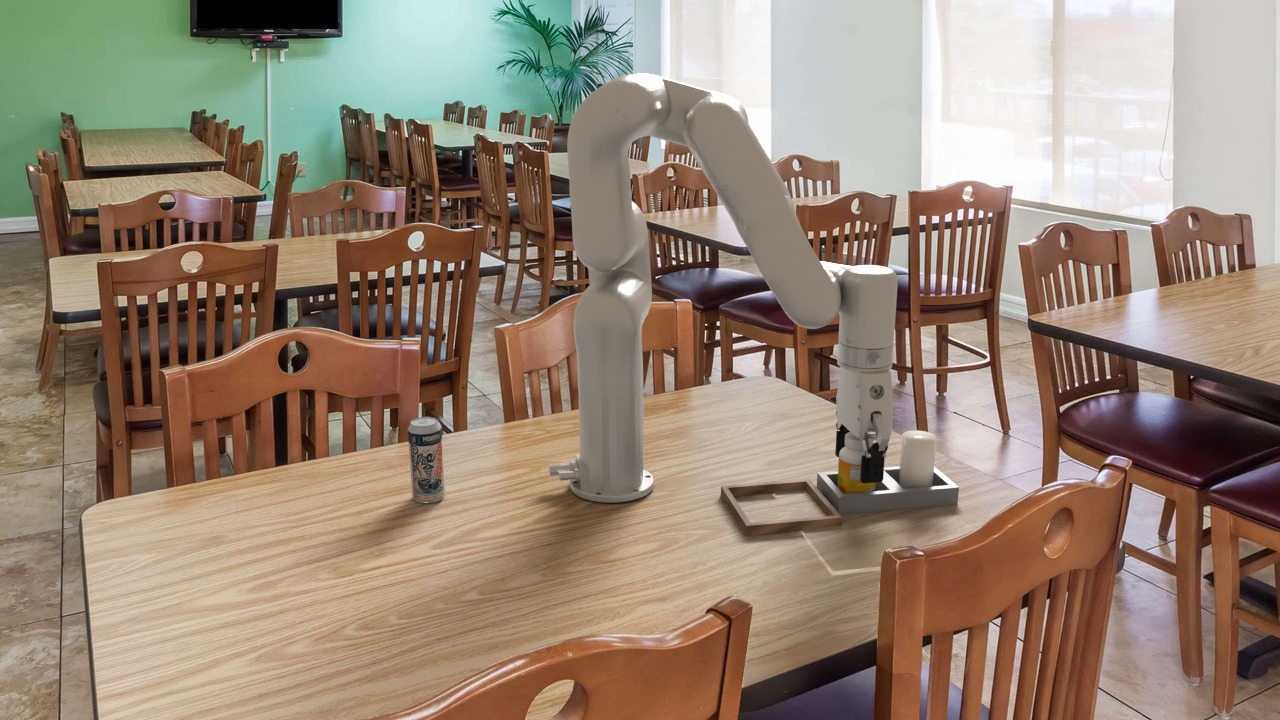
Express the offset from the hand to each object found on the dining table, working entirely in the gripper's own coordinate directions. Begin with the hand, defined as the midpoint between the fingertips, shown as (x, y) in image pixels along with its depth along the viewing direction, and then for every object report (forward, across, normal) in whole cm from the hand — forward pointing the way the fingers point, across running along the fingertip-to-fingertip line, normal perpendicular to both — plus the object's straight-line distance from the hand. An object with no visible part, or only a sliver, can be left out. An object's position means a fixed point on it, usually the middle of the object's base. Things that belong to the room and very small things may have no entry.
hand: (858, 468), depth 156 cm
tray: (+5, -1, +12) cm, 13 cm away
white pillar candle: (+5, 0, -9) cm, 10 cm away
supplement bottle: (+5, 0, 0) cm, 5 cm away
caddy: (+5, 0, -4) cm, 7 cm away
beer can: (+5, +13, +61) cm, 63 cm away
